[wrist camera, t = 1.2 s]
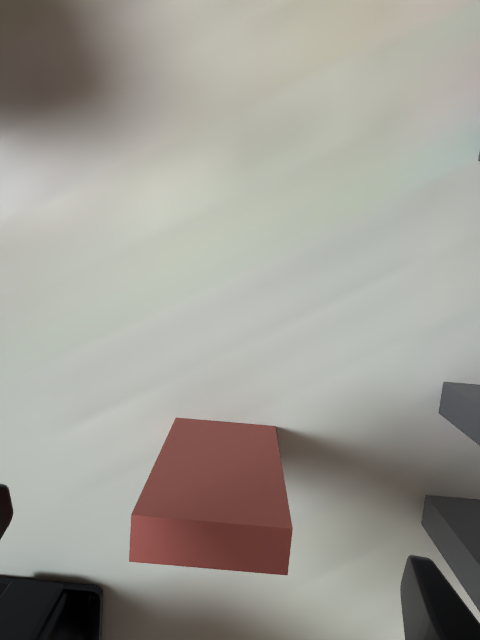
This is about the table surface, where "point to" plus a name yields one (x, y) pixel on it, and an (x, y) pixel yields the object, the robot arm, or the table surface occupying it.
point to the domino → (215, 500)
